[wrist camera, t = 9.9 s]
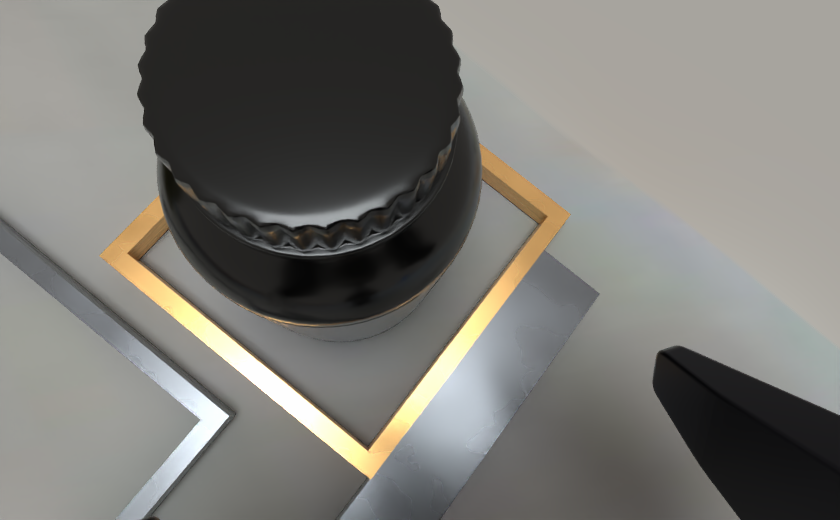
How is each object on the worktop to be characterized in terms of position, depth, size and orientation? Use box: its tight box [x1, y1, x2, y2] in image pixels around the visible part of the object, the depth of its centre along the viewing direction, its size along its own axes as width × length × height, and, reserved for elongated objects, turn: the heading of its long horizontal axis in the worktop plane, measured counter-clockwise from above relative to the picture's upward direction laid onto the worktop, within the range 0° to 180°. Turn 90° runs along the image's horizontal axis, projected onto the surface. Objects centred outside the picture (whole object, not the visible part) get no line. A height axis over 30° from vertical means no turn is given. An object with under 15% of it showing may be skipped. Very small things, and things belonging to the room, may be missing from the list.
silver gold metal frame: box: [0, 143, 599, 520], centre depth 18 cm, size 18×24×1 cm
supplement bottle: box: [137, 0, 482, 342], centre depth 14 cm, size 7×7×12 cm
